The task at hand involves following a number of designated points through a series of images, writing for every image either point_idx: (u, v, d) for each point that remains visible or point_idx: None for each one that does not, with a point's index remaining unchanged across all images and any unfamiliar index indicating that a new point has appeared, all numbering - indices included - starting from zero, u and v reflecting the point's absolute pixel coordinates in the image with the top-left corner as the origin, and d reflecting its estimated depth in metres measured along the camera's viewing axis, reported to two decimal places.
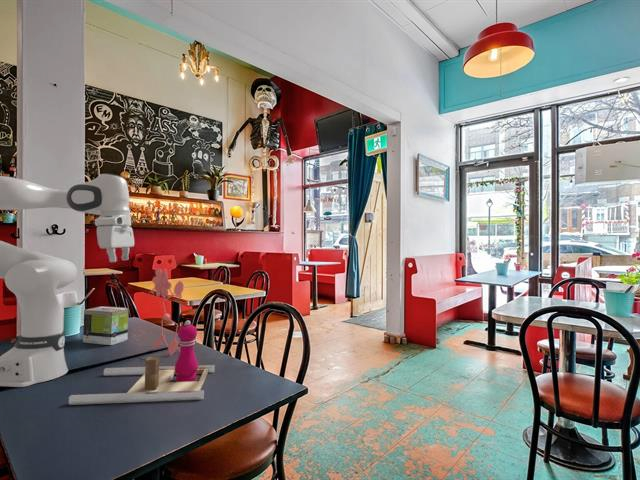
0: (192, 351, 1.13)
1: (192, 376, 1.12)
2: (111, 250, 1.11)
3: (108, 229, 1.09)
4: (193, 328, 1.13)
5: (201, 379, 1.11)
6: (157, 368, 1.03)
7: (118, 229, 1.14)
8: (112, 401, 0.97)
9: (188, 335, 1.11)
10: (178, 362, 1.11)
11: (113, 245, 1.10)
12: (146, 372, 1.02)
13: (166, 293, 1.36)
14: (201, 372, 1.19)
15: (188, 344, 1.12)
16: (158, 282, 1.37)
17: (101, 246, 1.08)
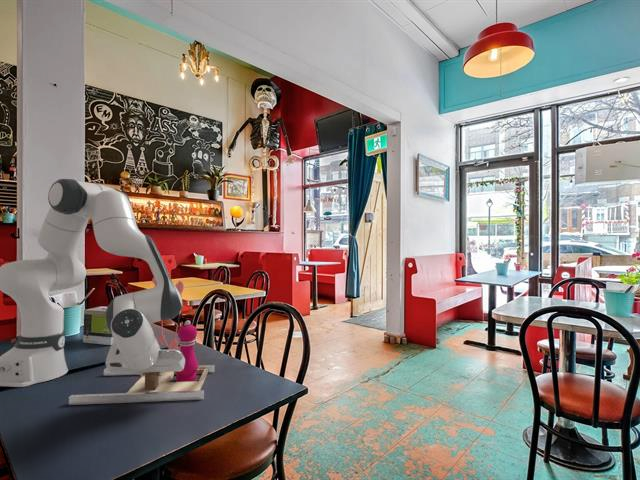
0: (192, 351, 1.13)
1: (192, 376, 1.12)
2: None
3: None
4: (193, 328, 1.13)
5: (201, 379, 1.11)
6: None
7: None
8: (112, 401, 0.97)
9: (188, 335, 1.11)
10: None
11: (116, 372, 0.98)
12: (146, 372, 1.02)
13: None
14: (201, 372, 1.19)
15: (188, 344, 1.12)
16: None
17: None
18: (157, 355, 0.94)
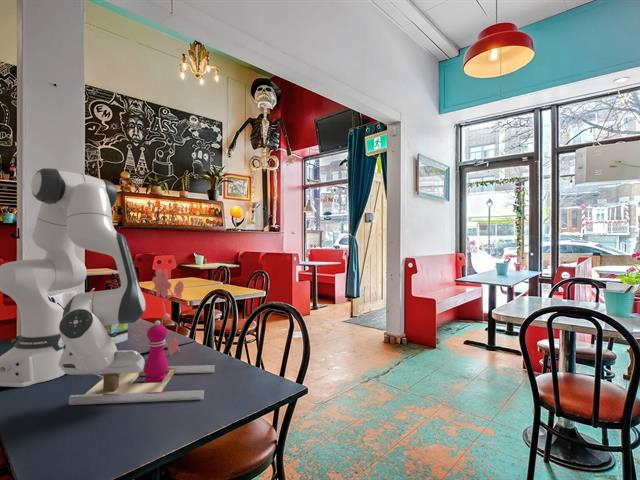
0: (162, 352, 1.12)
1: (161, 377, 1.11)
2: None
3: None
4: (163, 328, 1.11)
5: (164, 380, 1.09)
6: None
7: None
8: (112, 401, 0.97)
9: (156, 335, 1.09)
10: (147, 363, 1.10)
11: (73, 374, 0.96)
12: None
13: (166, 293, 1.36)
14: (167, 373, 1.17)
15: (157, 344, 1.10)
16: (158, 282, 1.37)
17: None
18: (112, 356, 0.93)
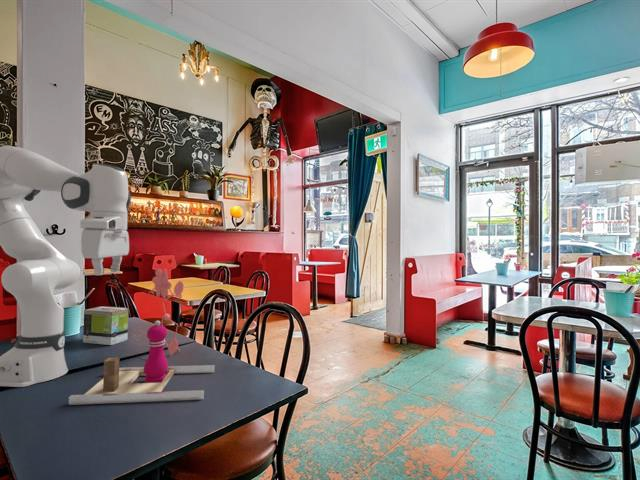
0: (162, 352, 1.12)
1: (161, 377, 1.11)
2: (97, 260, 0.88)
3: (96, 234, 0.85)
4: (163, 328, 1.11)
5: (164, 380, 1.09)
6: (116, 369, 1.02)
7: (109, 234, 0.90)
8: (112, 401, 0.97)
9: (156, 335, 1.09)
10: (147, 363, 1.10)
11: (100, 255, 0.86)
12: (105, 373, 1.00)
13: (166, 293, 1.36)
14: (166, 373, 1.17)
15: (157, 345, 1.10)
16: (158, 282, 1.37)
17: (85, 255, 0.84)
18: None
